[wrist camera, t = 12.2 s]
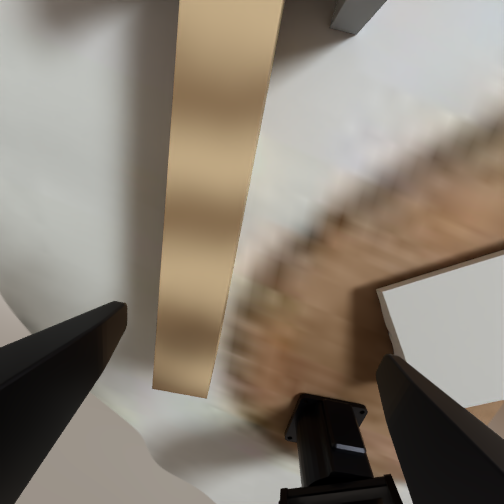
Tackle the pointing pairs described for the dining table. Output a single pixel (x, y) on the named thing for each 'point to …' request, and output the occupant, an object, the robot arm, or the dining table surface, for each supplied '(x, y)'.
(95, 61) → the dining table surface
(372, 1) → the end cap
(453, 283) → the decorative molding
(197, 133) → the oak slat
